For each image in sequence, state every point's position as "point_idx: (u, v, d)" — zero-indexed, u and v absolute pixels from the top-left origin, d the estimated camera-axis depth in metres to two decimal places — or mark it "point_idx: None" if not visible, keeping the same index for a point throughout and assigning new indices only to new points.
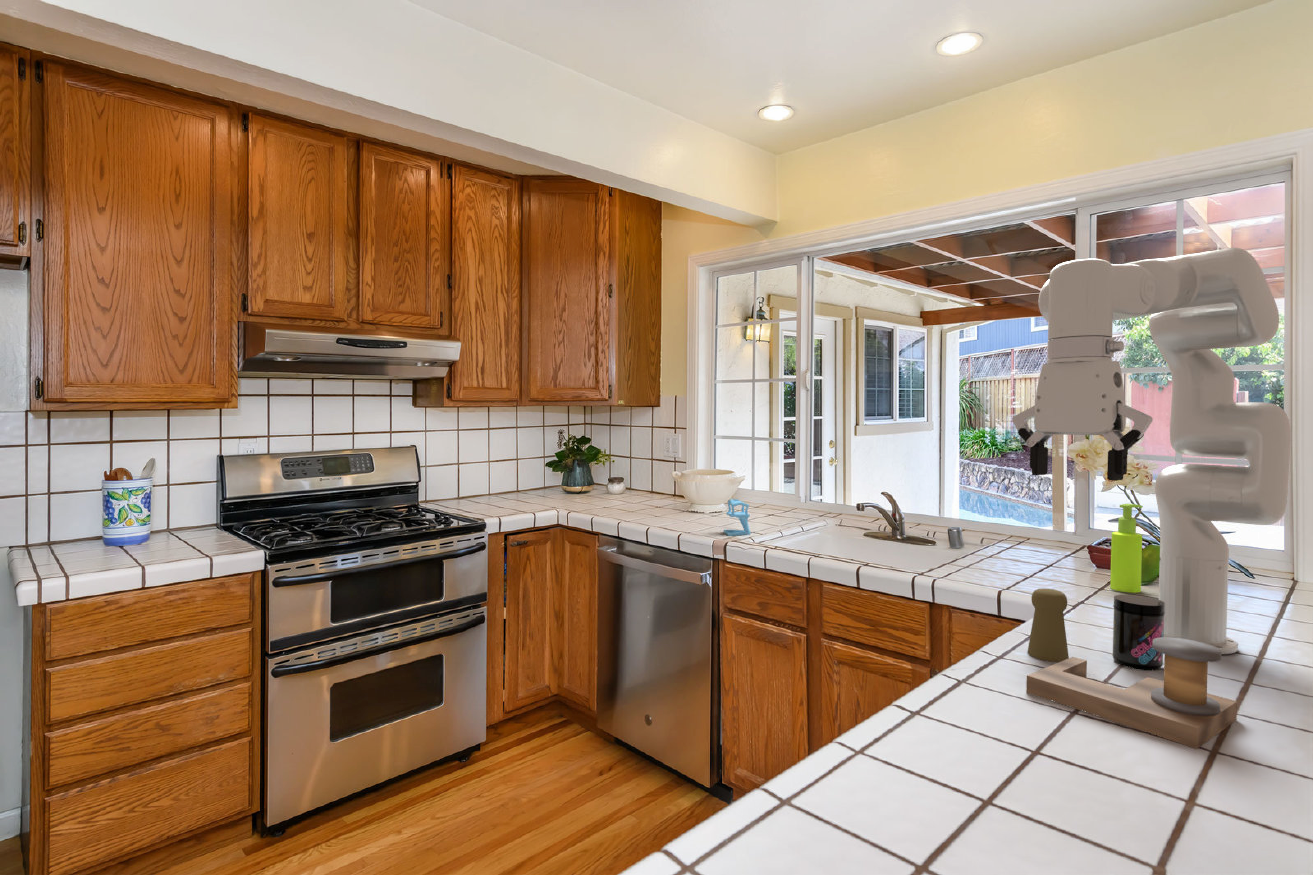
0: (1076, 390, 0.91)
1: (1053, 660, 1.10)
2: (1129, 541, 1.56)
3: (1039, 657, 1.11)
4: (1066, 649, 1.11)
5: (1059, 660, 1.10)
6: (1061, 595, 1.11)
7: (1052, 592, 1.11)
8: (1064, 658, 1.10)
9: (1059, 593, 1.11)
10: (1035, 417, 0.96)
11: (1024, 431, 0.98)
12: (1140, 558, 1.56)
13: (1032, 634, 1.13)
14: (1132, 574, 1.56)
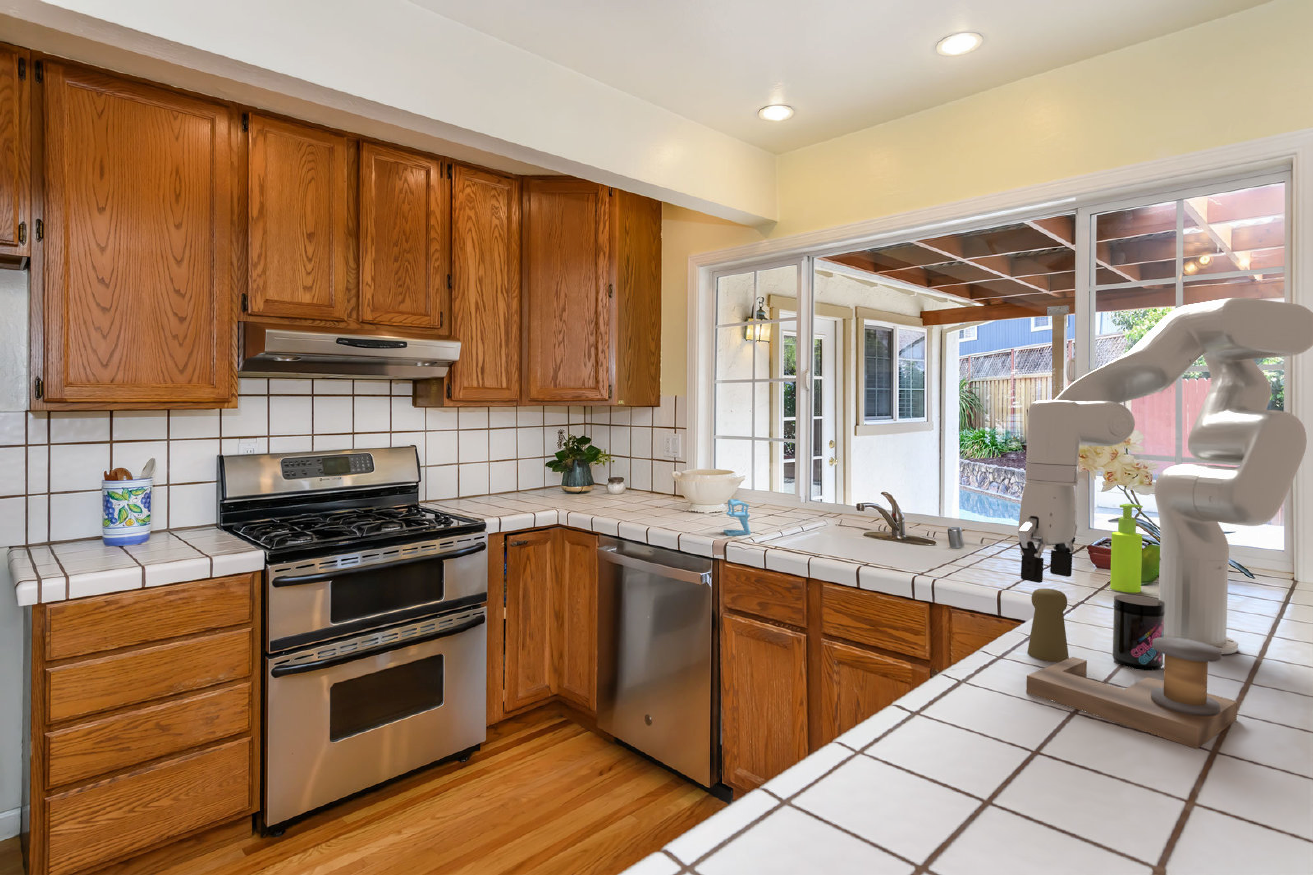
0: (1068, 508, 1.11)
1: (1053, 660, 1.10)
2: (1129, 541, 1.56)
3: (1039, 657, 1.11)
4: (1066, 649, 1.11)
5: (1059, 660, 1.10)
6: (1061, 595, 1.11)
7: (1052, 592, 1.11)
8: (1064, 658, 1.10)
9: (1059, 593, 1.11)
10: (1047, 532, 1.08)
11: (1033, 544, 1.08)
12: (1140, 558, 1.56)
13: (1032, 634, 1.13)
14: (1132, 574, 1.56)
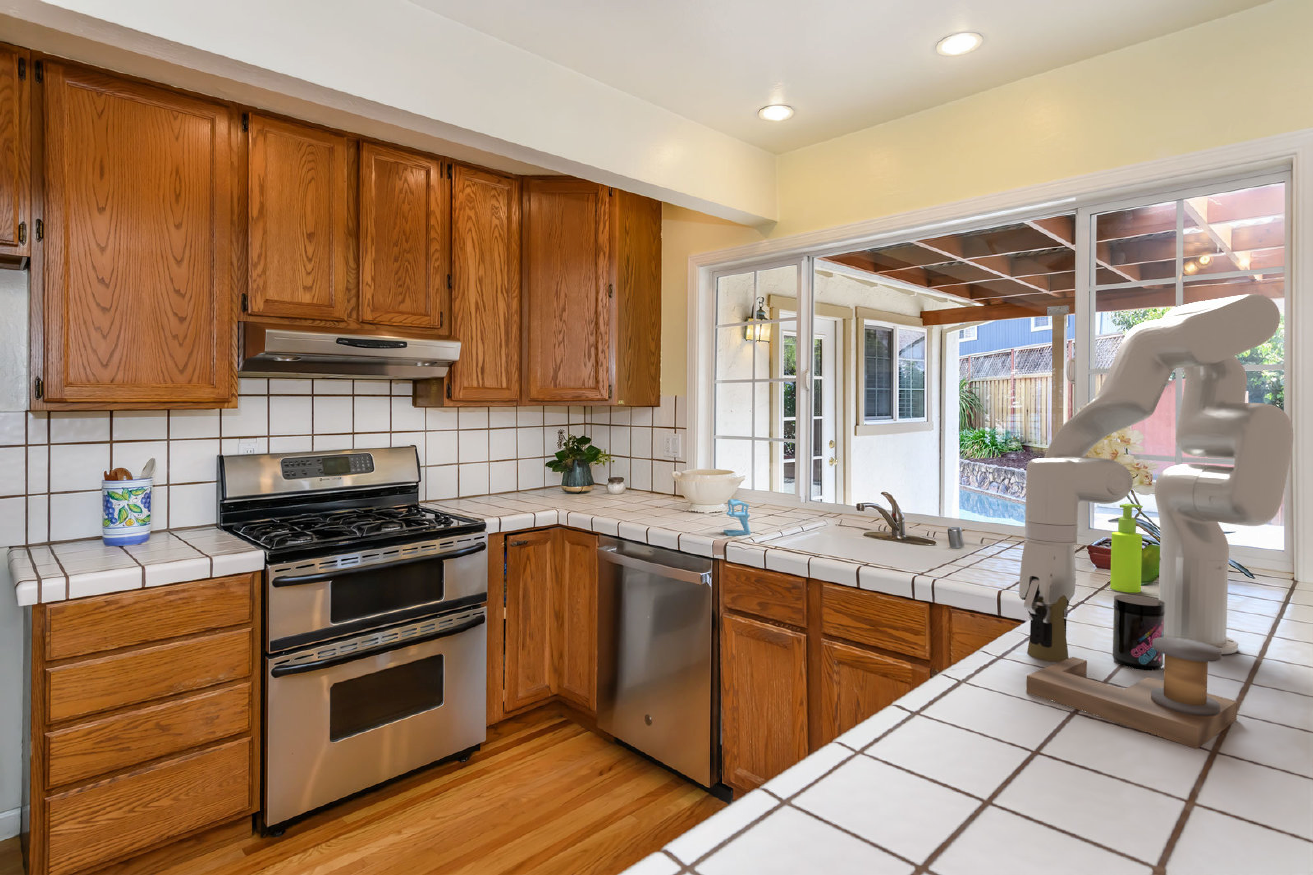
0: (1068, 566, 1.11)
1: (1053, 660, 1.10)
2: (1129, 541, 1.56)
3: (1039, 657, 1.11)
4: (1066, 649, 1.11)
5: (1059, 660, 1.10)
6: None
7: None
8: (1064, 658, 1.10)
9: None
10: (1047, 592, 1.08)
11: (1041, 610, 1.10)
12: (1140, 558, 1.56)
13: None
14: (1132, 574, 1.56)
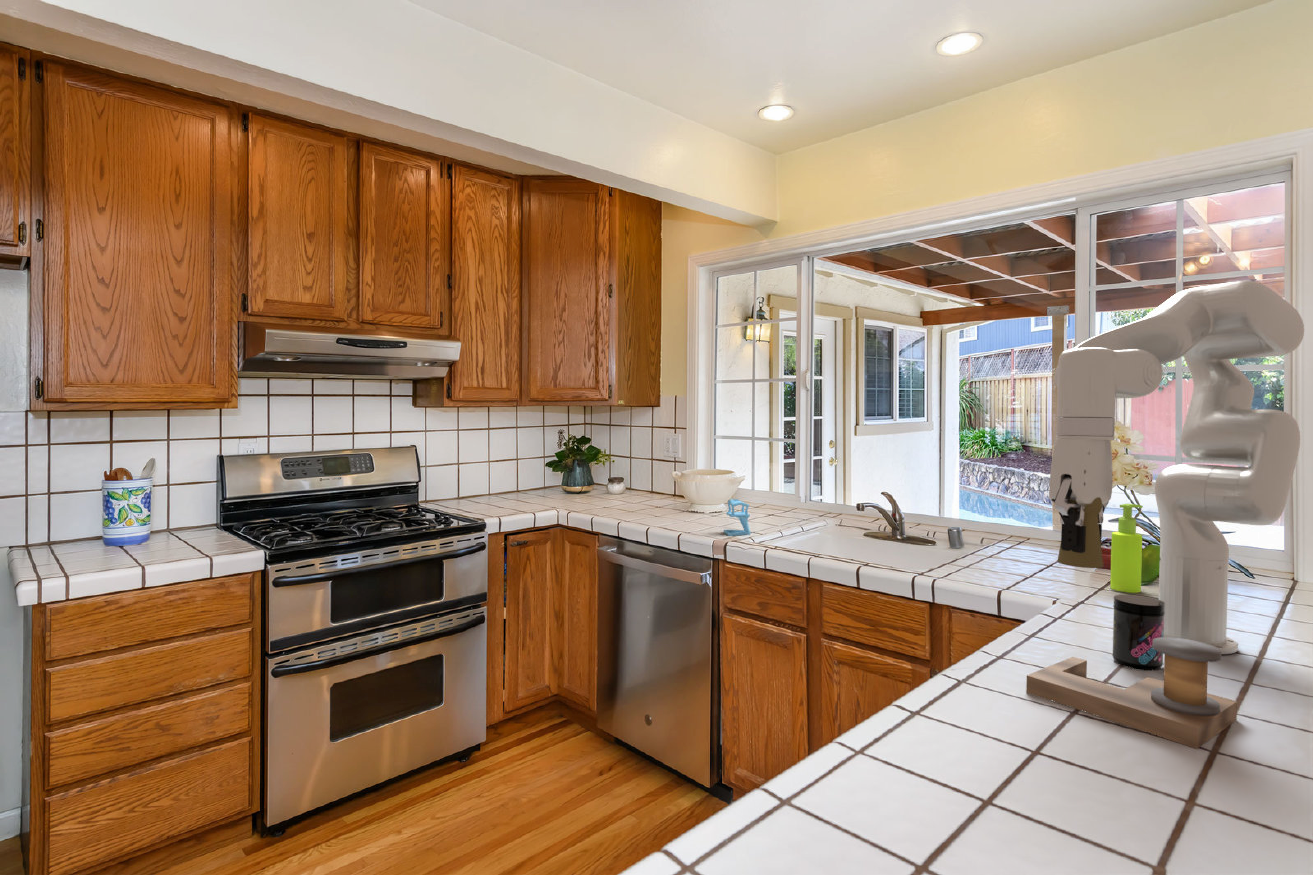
0: (1104, 465, 1.02)
1: (1086, 566, 1.01)
2: (1129, 541, 1.56)
3: (1070, 564, 1.02)
4: (1100, 555, 1.01)
5: (1092, 566, 1.01)
6: None
7: None
8: (1098, 564, 1.01)
9: None
10: (1081, 490, 0.99)
11: (1074, 511, 1.00)
12: (1140, 558, 1.56)
13: None
14: (1132, 574, 1.56)
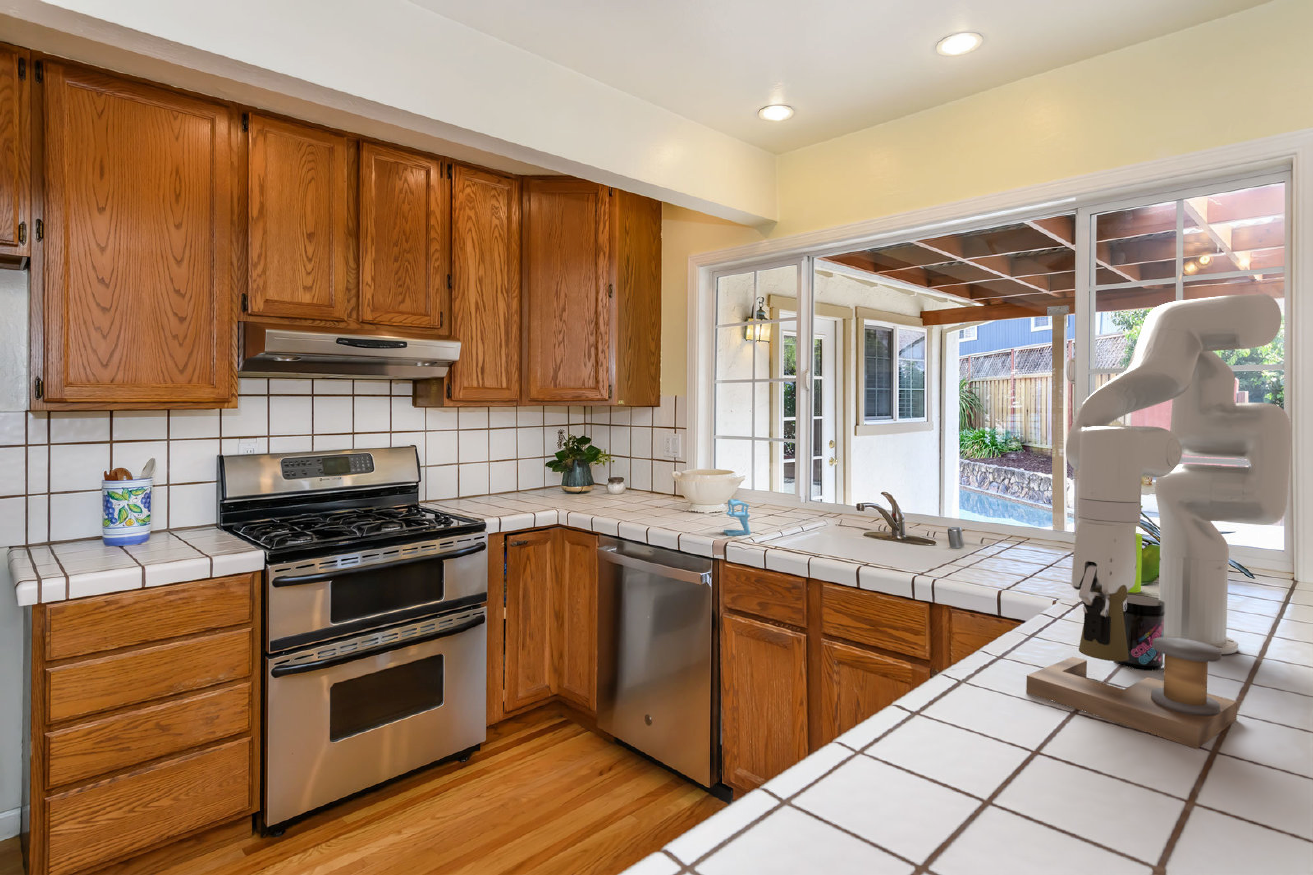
0: (1129, 551, 0.96)
1: (1111, 659, 0.95)
2: None
3: (1094, 656, 0.96)
4: (1126, 647, 0.95)
5: (1118, 659, 0.95)
6: None
7: None
8: (1124, 657, 0.95)
9: None
10: (1107, 580, 0.93)
11: None
12: (1140, 558, 1.56)
13: None
14: None
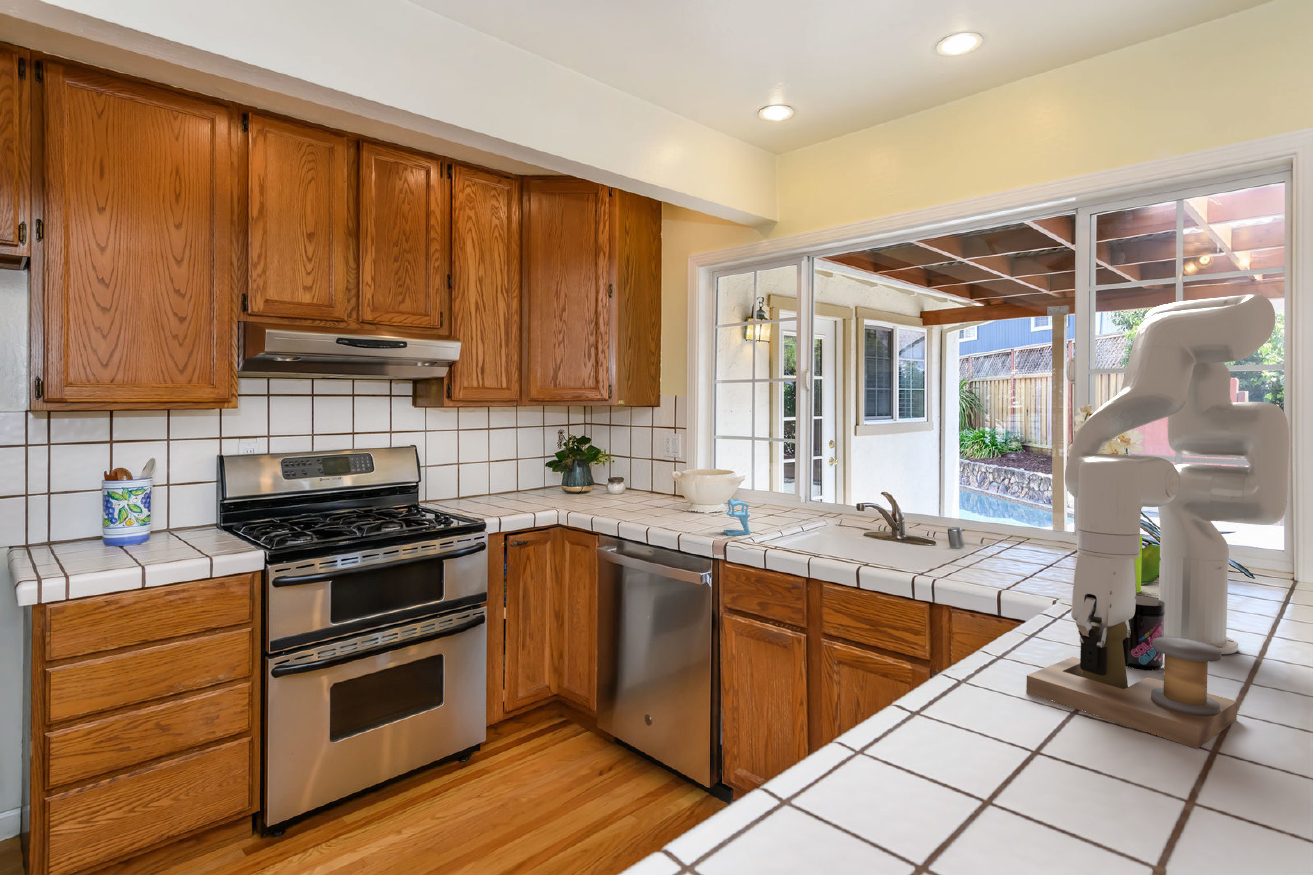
0: (1129, 582, 0.96)
1: None
2: None
3: None
4: (1126, 684, 0.96)
5: None
6: None
7: None
8: None
9: None
10: (1107, 613, 0.93)
11: None
12: (1140, 558, 1.56)
13: None
14: None
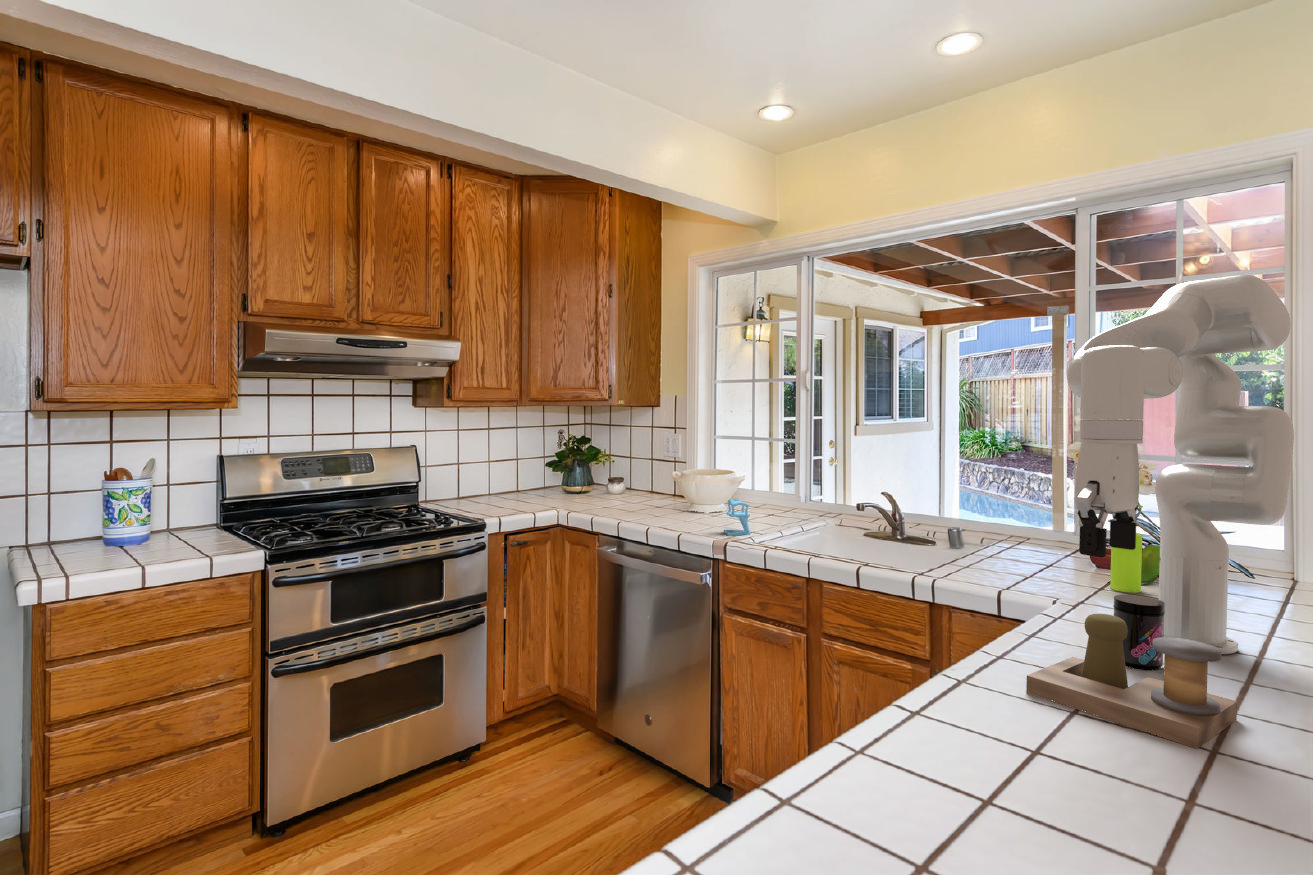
0: (1132, 470, 0.96)
1: None
2: None
3: None
4: (1126, 684, 0.96)
5: None
6: (1121, 622, 0.96)
7: (1110, 618, 0.97)
8: None
9: (1118, 620, 0.96)
10: (1110, 498, 0.93)
11: None
12: (1140, 558, 1.56)
13: (1086, 666, 0.98)
14: (1132, 574, 1.56)
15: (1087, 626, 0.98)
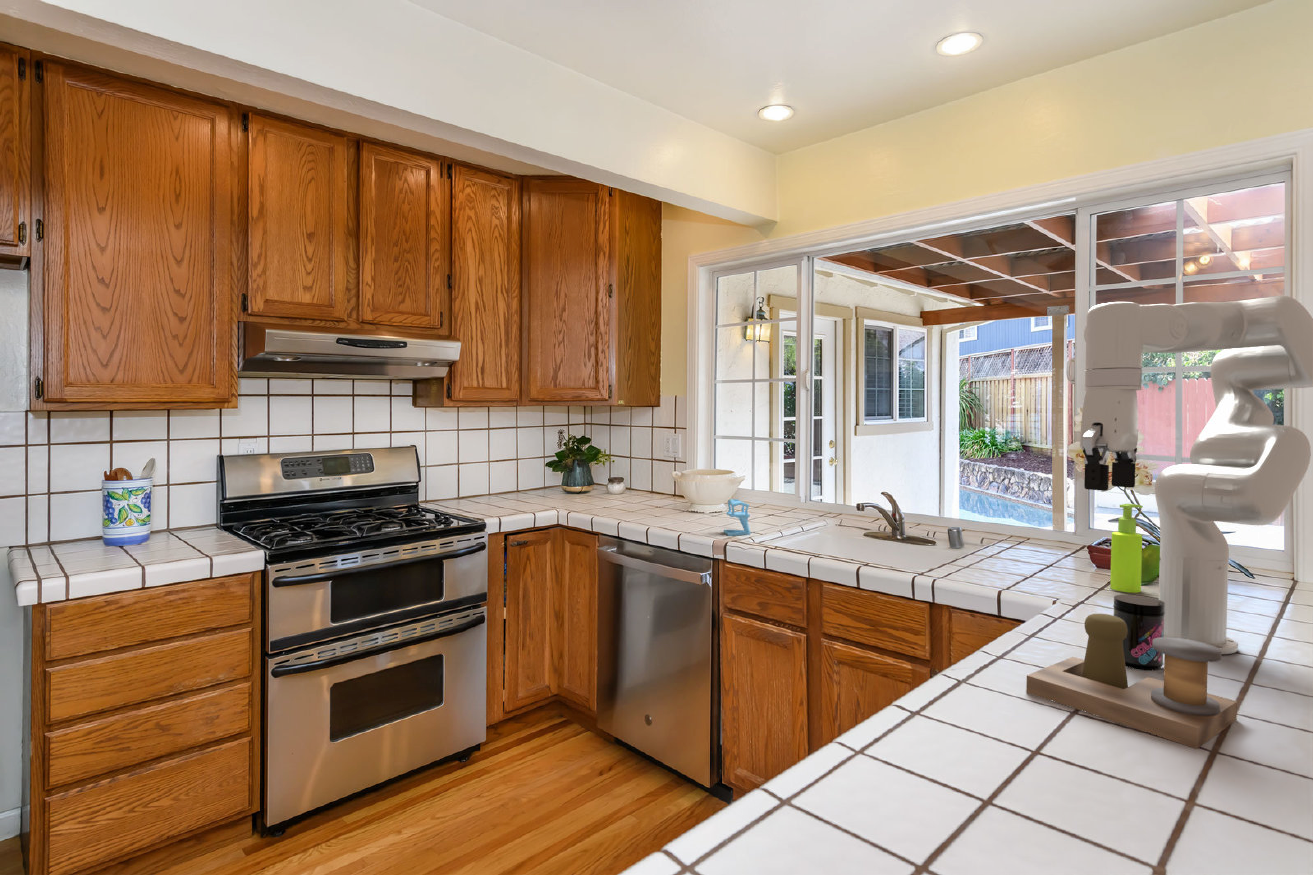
0: (1132, 414, 1.07)
1: None
2: (1129, 541, 1.56)
3: None
4: (1126, 684, 0.96)
5: None
6: (1121, 622, 0.96)
7: (1110, 618, 0.97)
8: None
9: (1118, 620, 0.96)
10: (1112, 437, 1.04)
11: (1098, 450, 1.04)
12: (1140, 558, 1.56)
13: (1086, 666, 0.98)
14: (1132, 574, 1.56)
15: (1087, 626, 0.98)
